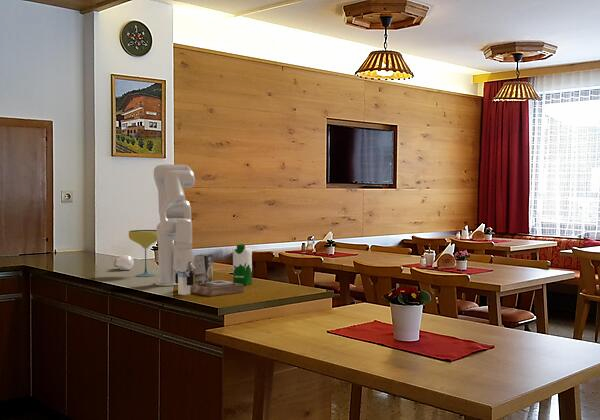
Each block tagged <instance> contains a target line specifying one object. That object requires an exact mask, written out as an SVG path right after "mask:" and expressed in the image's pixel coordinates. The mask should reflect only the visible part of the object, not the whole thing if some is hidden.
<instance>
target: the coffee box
mask: <svg viewBox="0 0 600 420" xmlns="http://www.w3.org/2000/svg"><path fill="white" fill-rule="evenodd" d="M213 258H214V257H213V254H211V253H210V254H209V253H206V254H197V255H194V266H195V267H196V269H195V273H194V285H195V284H204V283H206V282H211V281H214V280H213V279H214V278H213V277H214V276H213V274H214V273H213V269H214V268H213V263H214V261H213Z"/></svg>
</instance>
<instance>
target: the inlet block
mask: <svg viewBox="0 0 600 420" xmlns="http://www.w3.org/2000/svg"><path fill="white" fill-rule="evenodd" d="M226 286H233V281H228V280H223V279H222V280H213V281H211V282H206V287H207V288H217V287H226Z"/></svg>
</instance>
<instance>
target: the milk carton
mask: <svg viewBox="0 0 600 420" xmlns="http://www.w3.org/2000/svg"><path fill="white" fill-rule="evenodd" d="M252 256H253V248H249V247H248V248H247V247H246V245H245V244H236V248H232V273H233V274H232V277H233V279H232V280H233V281H232V282H233V283H237V284H243V285H244V287H245V286H246V287H247V286H250V285H252V284H253V282H252V281H253V268H252V267H253V260H252V259H253V257H252Z"/></svg>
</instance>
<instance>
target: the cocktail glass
mask: <svg viewBox="0 0 600 420" xmlns="http://www.w3.org/2000/svg"><path fill="white" fill-rule="evenodd" d="M128 237H129V239H130V241H132V242H134V243H136V244H138V245H140V246H141V247H142V248H143V249H144V272H143V273H139V274H136V275H135V277H137V276H138V277H139V278H150V277H149V276H152V277H156V276H155V275H156V274H154V273H150V272H148V269H147V249H148V248H149V247H150V246H152V244H154V243H157V242H158V238H157V232H156V229H138V230H137V229H136V230H135V229H134V230H133V229H132V230H129V231H128Z"/></svg>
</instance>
